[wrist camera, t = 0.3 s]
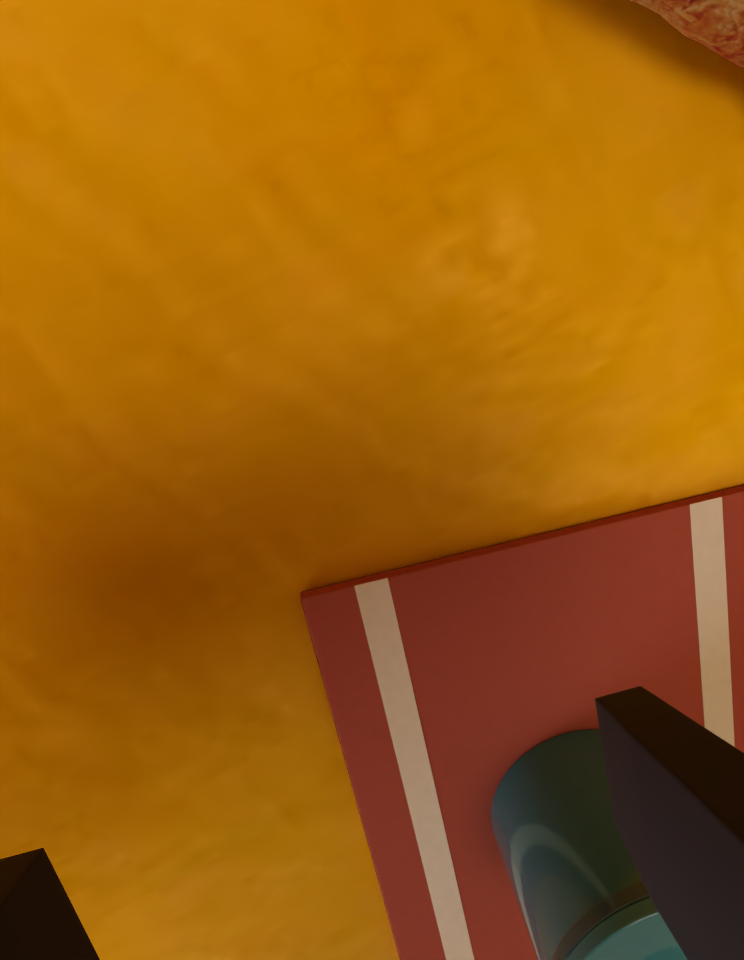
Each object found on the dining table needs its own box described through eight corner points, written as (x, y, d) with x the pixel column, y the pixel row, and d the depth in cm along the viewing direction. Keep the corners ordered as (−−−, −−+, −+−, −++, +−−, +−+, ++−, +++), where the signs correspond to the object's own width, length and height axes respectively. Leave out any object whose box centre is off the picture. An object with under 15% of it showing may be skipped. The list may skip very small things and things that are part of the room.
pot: (673, 850, 23) (821, 1083, 16) (501, 895, 23) (584, 1148, 16) (660, 705, 21) (820, 903, 15) (473, 752, 21) (553, 974, 14)
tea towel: (777, 946, 25) (785, 957, 25) (423, 1040, 25) (425, 1053, 24) (763, 479, 19) (773, 484, 19) (300, 592, 19) (300, 598, 19)
